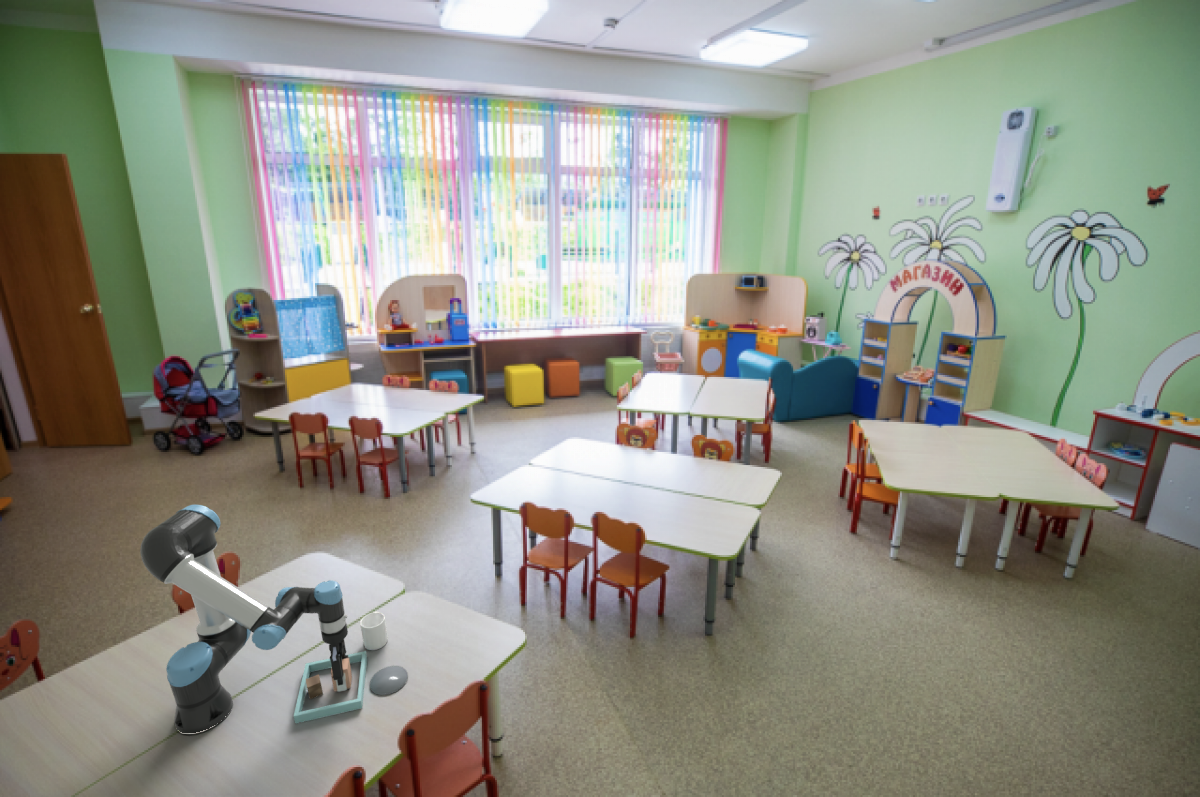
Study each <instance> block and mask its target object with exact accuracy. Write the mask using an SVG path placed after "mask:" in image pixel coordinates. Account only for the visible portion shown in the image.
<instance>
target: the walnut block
mask: <svg viewBox="0 0 1200 797" xmlns="http://www.w3.org/2000/svg"><path fill="white" fill-rule="evenodd" d="M306 684H307V693H308V697H309V698H308V699H309V700H313V699H314V698H317V697H319V696H323V695H324V691H323V688H322V681H321V677H320V674H316V675H313V676H310V677H309V678H308V679H306Z"/></svg>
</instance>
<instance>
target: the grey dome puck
mask: <svg viewBox="0 0 1200 797" xmlns="http://www.w3.org/2000/svg"><path fill="white" fill-rule="evenodd" d="M408 677H409V676H408V671H407V669H406V668H404V667H403V666H401V665H389V666H385V667H382V668H381V669H379V670H378V671H376V672H375V673H374V674H373V675H372V677H371V678H370V682H369V688H370V690H371V692H373V693H374V694H376V695H379V696H387V695H392V694H394V693H396V692H397V691H399V690H401V689H402V688H403V687H404V686H405V685H406V684H407V682H408Z"/></svg>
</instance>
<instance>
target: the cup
mask: <svg viewBox="0 0 1200 797" xmlns="http://www.w3.org/2000/svg"><path fill="white" fill-rule="evenodd" d="M385 616H386V615H385V614H383V613H382V612H379V611H374V612H370V613H368V614H366V615H364V616H363V617H362V618H361V619H360V622H359V624H360V631H361V636H362V643H363V646H364V648H365V649H366V650H369V651H377V650H380V649H381V648H383V647H384V646H385V645H386V644H387V643H388V639H389V637H388V636H389V635H388V631H387V623H386V618H385Z"/></svg>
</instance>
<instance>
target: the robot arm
mask: <svg viewBox="0 0 1200 797" xmlns="http://www.w3.org/2000/svg"><path fill="white" fill-rule="evenodd" d="M220 528H221V518H220V517H219V515H218V514H217V513H216V512H215V511H214V510H213V509H210V508H209V507H207V506H205V505H202V504H189V505H187V506H185V507H183V508H182V509H179V510H178V511H176V512H175V513H174V514H173V515H171V516H170V517H169V518H167V519H165V520H164V521H162V522H161V523H160V524H158V525H157V526H155V527H153V528H152V529H150V530H149V531H148V532H147V533H146V534H145V535H144V537H143V539H142V541H141V544H140V551H139V552H140V557H141V558H140V559H141V561H142V563H143V565H144V567H145V568H146V570H147V571H148V572H149V573H150V574H151V575H152V576H153V577H154V578H156V580H158V581H160V582H162V583H164V584H165V585H166V584H173V585H175V587H176V586H177V587H178V588H179V589H181V590H183V591H185V592H186V593H188V594H190V595H191V598H192V602H193V604H194V608H195V611H196V614H197V618H198V620H199V623H198V624H197V625H196V630H195V631H196V633H197V634H196V635H197V638H198V640H197V641H196V642H191V643H189V644H187V645H186V646H185V647H181V648H179V649H178V650H177V651H175V652H174V653H173V655H172V656H171V657H170V658H169V660H168V662H167V664H166V667H165V669H166V676H167V682H168V683H169V686H170V689H171V692H172V695H173V698H174V701H175V704H176V708H175V713H174V720H173V721H174V723H173V724H174V726H176V727H175V729H176V728H177V730H179V731H180V732H182V733H196V732H200V731H203V730H206V729H209V728H210V727H212V726H214V725H216V724H217V723H219V722H220V721H221V720H223V719H224V718H225V716H227V715H228V713H229V712H230V711H232V710H231V709H233V708H234V707H233V706H234V701H233V698H232V695H231V694H230V692H228V691H227V689H226V688H225V687H224V686H223V685H222V684H221V680H220V677H219V675H220V673H221V671H223V669H224V668H225V667H226V666H227V665H228V663H230V661H232V660H233V658H235V656H236V655H237V654H238V653H239V651H241V649H242V648H243V647H244V646H245V645H246V643H247V641H248V640H249V639H250V636H251V642H252V643H253V644H254V645H255V647H256V648H258V649H260V650H262V651H270V650H273V649H274V648H276V647H277V646H278V645H279V644H280V643H281V642H282V640H284V639H285V638H286V636H287V634H289V631H291V629H292V628H293V626H294V625H295V624H296V623H297V622H298V620H299V619H300V618H301V617H302V616H303V614H317V616H318V622H319V628H320V632H321V637H322V641H323V642H324V643H325V644H327V645H328V649H329V652H330V655H329V659H330V661H331V665H332V671H333V676H332V677H331V679H332V678H334V680H336V685H337V691H336V692H337V693H339V692H344V691H347V690H348V689H347V686H346V680H345V674H344V673H343V665H342V659H345V658H348V655H349V654H347V648H346V642H345V639H346V637H347V636H348V633H349V631H348V625H347V620H346V619H348V614H345V608H344V607H345V606H344V601H343V592H342V588H341V585H340V584H339V582H338V581H336V580H331V579H329V580H327V581H322V582H319V583H318V584H317V585H316V586H315V587H302V586H301V587H300V586H291V587H290V586H286V587H284V588H281V589H280V590H279V591H278V594H277V596H276V597H275V601H274V602H275V603H274V604H275V605H274V606H275V608H274V609H273V608H272V607H270V606H268V605H266V604H265V603H263V602H262V601H260V600H258V599H257V598H256V597H254V596H252V595H251V594H249V593H247V592H246V591H244V590H243V589H241V588H240V587H238V586H237V585H235V584H233V582H230V581H228V580H227V579H225V578H224V577H223V576H221V572H220V569H219V566H218V562H217V559H216V556H215V552H214V550H215V549H217V548H216V547H217V546H218V541H217V538H216V535H215V534H216V533H217V532H218V531H219V529H220ZM251 633H252V635H251ZM230 713H231V712H230ZM230 713H229V714H230ZM228 716H229V715H228ZM228 716H227V717H228ZM225 719H226V718H225ZM225 719H224V720H225ZM224 720H223V721H224ZM177 730H176V731H177Z"/></svg>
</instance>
